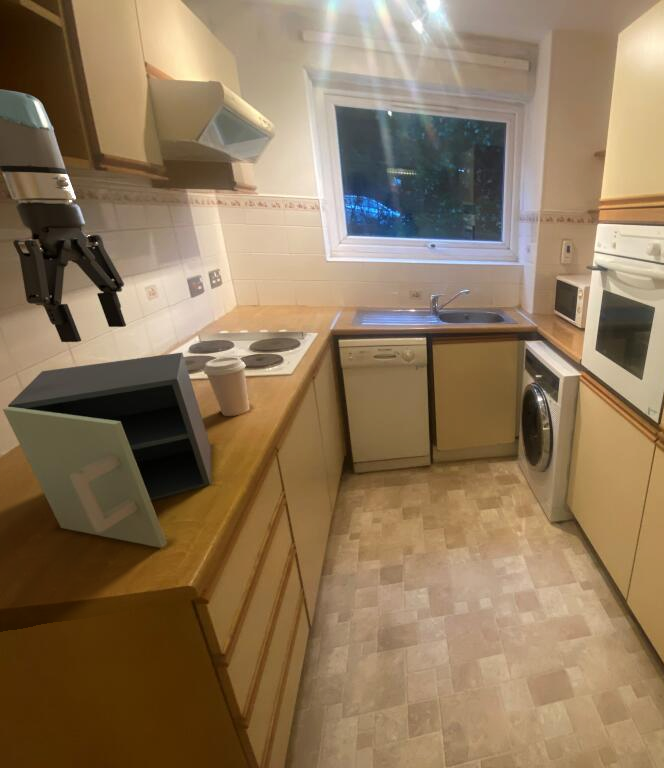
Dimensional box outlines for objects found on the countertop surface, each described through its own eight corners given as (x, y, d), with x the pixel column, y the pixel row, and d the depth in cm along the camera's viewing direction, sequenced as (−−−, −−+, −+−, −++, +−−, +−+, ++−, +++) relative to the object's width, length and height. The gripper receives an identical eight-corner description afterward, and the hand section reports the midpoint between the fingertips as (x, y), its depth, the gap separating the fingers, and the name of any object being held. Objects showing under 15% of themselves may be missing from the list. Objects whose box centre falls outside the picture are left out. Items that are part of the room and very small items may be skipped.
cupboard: (210, 486, 89) (177, 378, 80) (65, 525, 78) (7, 405, 69) (211, 447, 103) (182, 352, 94) (88, 476, 92) (42, 371, 83)
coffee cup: (261, 403, 126) (249, 354, 120) (248, 418, 117) (235, 366, 112) (225, 406, 124) (211, 356, 119) (209, 421, 116) (194, 368, 110)
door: (127, 575, 68) (68, 443, 58) (21, 552, 72) (-49, 426, 63) (167, 545, 74) (120, 421, 65) (67, 525, 78) (10, 406, 69)
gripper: (1, 202, 61) (62, 352, 70) (122, 202, 82) (159, 318, 90) (-55, 201, 61) (14, 352, 70) (81, 202, 81) (121, 319, 90)
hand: (96, 333), depth 80 cm, fingers open, 9 cm apart
